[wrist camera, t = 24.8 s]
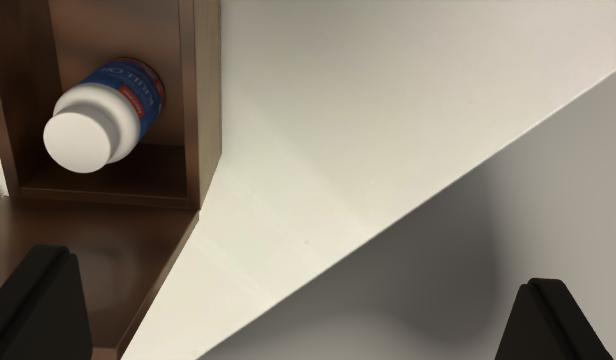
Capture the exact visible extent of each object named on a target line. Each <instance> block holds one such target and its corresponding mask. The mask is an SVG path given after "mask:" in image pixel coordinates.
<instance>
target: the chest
mask: <svg viewBox="0 0 616 360" xmlns="http://www.w3.org/2000/svg"><path fill="white" fill-rule="evenodd" d="M119 58H129V59H134V60H137V61H139V62H141V63H143V64H145V65H146V66H148V67H149V68H150V69H151V70H152V71H153V72H154V73H155V74H156V75H157V77H158V78H159V80H160V81H161V83H162V86H163V89H164V95H165V100H164V106H163V109H162V111H161V113H160V115H159V116H158V118H157V119H156V120H155V122H154V123H153V124H152V125H151V127H150V128H149V129H148V131H147V132H146V133H145V135H144V136H143V137H142V138H141V140H140V141H139V142H138V144H137V145H136V146H135V147H134V149H133V150H132V151H131V152H130V153H129V154H128V155H127V156H126V157H124V158H123V159H121V160H119V161H116V162H113V163H108V164H105V165H104V166H103V167H102V168H100V169H99V170H96V171H94V172H89V173H79V172H74V171H71V170H68V169H66V168H64V167H63V166H61V165H60V164H58V163H57V162H56V161H55V160H54V159H53V158H52V157H51V156H50V154H49V153H48V151H47V149H46V147H45V144H44V138H43V135H44V129H45V126H46V124H47V123H48V121H49V120H50V119H51V118H52V117H53V112H54V108H55V105H56V103H57V101H58V100H59V99H60V97H61V96H62V95H63V94H64V93H65V92H67V91H68V90H69V89H71V88H72V87H73V86H75V85H76V84H77V83H79V82H80V81H82V80H83V79H84V78H86V77H87V76H88V75H90V74H91V73H93V72H94V71H95V70H97V69H98V68H99V67H101V66H102V65H103V64H105V63H107V62H109V61H111V60H114V59H119ZM221 154H222V130H221V21H220V0H0V159H1V164H2V168H3V172H4V176H5V180H6V185H7V189H8V193H9V197H23V198H38V199H52V200H66V201H81V202H95V203H110V204H124V205H139V206H153V207H168V208H182V209H197V210H199V211H200V210H201V208H202V205H203V202H204V199H205V197H206V194H207V191H208V189H209V186H210V183H211V181H212V178H213V175H214V172H215V170H216V167H217V164H218V162H219V159H220V156H221Z"/></svg>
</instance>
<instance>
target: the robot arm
mask: <svg viewBox="0 0 616 360" xmlns="http://www.w3.org/2000/svg"><path fill="white" fill-rule="evenodd" d="M92 354H93V343H92V337H91V332H90V326H89V320H88V314H87V309H86V303H85V297H84V291H83V286H82V280H81V274H80V269H79V263H78V258H77V255H76V254H74V253H70V251H69V249H68V248H67V247H66V246H62V245H47V244H37V245H35V246H34V247H32V249H31V250H30V251H29V252H28V254H27V255H26V256H25V257H24V259H23V260H22V261H21V262H20V264H19V265H18V266H17V267H16V268H15V270H14V271H13V272H12V273H11V275H10V276H9V277H8V278H7V280H6V281H5V282H4V283H3V285H2V286H1V287H0V360H91V358H92ZM495 360H613V358H612V356H611V355H610V354H609V353H608V351H607V350H606V349H605V347H604V346H603V344H602V343H601V341H600V339H599V338H598V336H597V335H596V333H595V331H594V330H593V328H592V327H591V325H590V323H589V322H588V321H587V319H586V317H585V316H584V314H583V312H582V311H581V309H580V308H579V306H578V305H577V303H576V301H575V300H574V298H573V297H572V295H571V293H570V292H569V290H568V289H567V287H566V285H565V284H564V283H563V282H562V281H561V280H558V279H543V278H531V279H530V280H529V281H528V283H527V284H522V285H521V286H520V288H519V290H518V293H517V296H516V299H515V302H514V304H513V307H512V311H511V313H510V316H509V319H508V322H507V325H506V328H505V331H504V334H503V336H502V339H501V342H500V345H499V348H498V351H497V354H496V357H495Z"/></svg>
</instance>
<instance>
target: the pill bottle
mask: <svg viewBox="0 0 616 360" xmlns="http://www.w3.org/2000/svg"><path fill="white" fill-rule="evenodd" d="M164 100H165V95H164V89H163V86H162V83H161V81H160V80H159V78H158V77H157V75H156V74H155V73H154V72H153V71H152V70H151V69H150V68H149V67H148V66H146V65H145V64H143V63H141V62H139V61H137V60H134V59H129V58H119V59H114V60H111V61H109V62H107V63H105V64H103V65H102V66H101V67H99V68H98V69H97V70H95V71H94V72H93V73H91V74H90V75H88V76H87V77H86V78H84V79H83V80H82V81H80V82H79V83H77V84H76V85H75V86H73V87H72V88H71V89H69V90H68V91H67V92H65V93H64V94H63V95H62V96H61V97H60V99H59V100H58V101H57V103H56V105H55V108H54V112H53V117H52V118H51V119H50V120H49V121H48V123H47V124H46V126H45V129H44V135H43V138H44V144H45V147H46V149H47V151H48V153H49V154H50V156H51V157H52V158H53V159H54V160H55V161H56V162H57V163H58V164H60V165H61V166H63V167H64V168H66V169H68V170H71V171H74V172H79V173H89V172H94V171H96V170H99V169H100V168H102V167H103V166H104V165H105V164H108V163H113V162H116V161H119V160H121V159H123V158H124V157H126V156H127V155H128V154H129V153H130V152H131V151H132V150H133V149H134V147H135V146H136V145H137V144H138V142H139V141H140V140H141V138H142V137H143V136H144V135H145V133H146V132H147V131H148V129H149V128H150V127H151V125H152V124H153V123H154V122H155V120H156V119H157V118H158V116H159V115H160V113H161V111H162V109H163V106H164Z"/></svg>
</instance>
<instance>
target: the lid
mask: <svg viewBox="0 0 616 360" xmlns="http://www.w3.org/2000/svg"><path fill="white" fill-rule="evenodd" d="M198 221H199V210H197V209H182V208H168V207H153V206H139V205H124V204H110V203H95V202H81V201H66V200H52V199H38V198H23V197H9V196H5V197H3V198H1V199H0V287H1V286H2V285H3V283H4V282H5V281H6V280H7V278H8V277H9V276H10V275H11V273H12V272H13V271H14V270H15V268H16V267H17V266H18V265H19V264H20V262H21V261H22V260H23V259H24V257H25V256H26V255H27V254H28V252H29V251H30V250H31V249H32V247H34V246H35V245H37V244H47V245H62V246H66V247H67V248H68V249H69V251H70V253H74V254H76V255H77V258H78V263H79V269H80V274H81V280H82V286H83V291H84V297H85V303H86V309H87V314H88V320H89V326H90V332H91V337H92V343H93V354H92V358H91V360H120V359H121V358H122V356H123V354H124V352H125V351H126V349H127V347H128V345H129V343H130V342H131V340H132V338H133V336H134V335H135V333H136V331H137V329H138V327H139V326H140V324H141V322H142V320H143V319H144V317H145V315H146V313H147V311H148V310H149V308H150V306H151V304H152V303H153V301H154V299H155V297H156V295H157V294H158V292H159V290H160V288H161V286H162V285H163V283H164V281H165V279H166V278H167V276H168V274H169V272H170V270H171V269H172V267H173V265H174V263H175V262H176V260H177V258H178V256H179V254H180V253H181V251H182V249H183V247H184V246H185V244H186V242H187V240H188V238H189V237H190V235H191V233H192V231H193V229H194V228H195V226H196V224H197V222H198Z"/></svg>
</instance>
